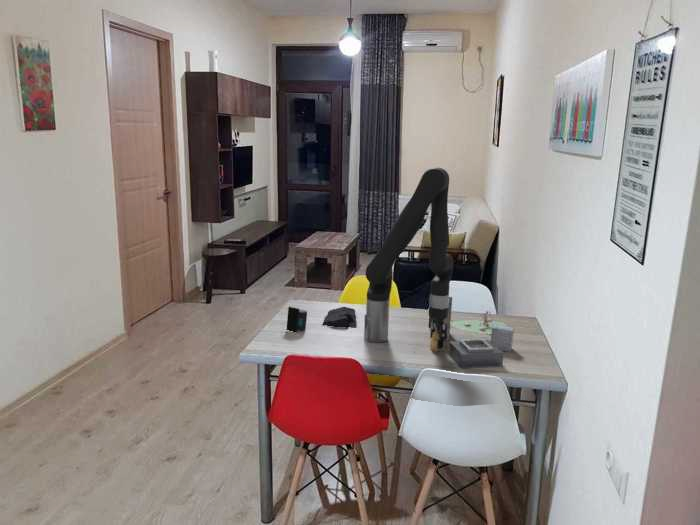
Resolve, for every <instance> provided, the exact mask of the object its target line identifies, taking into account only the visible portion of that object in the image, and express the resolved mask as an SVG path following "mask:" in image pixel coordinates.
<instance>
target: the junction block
mask: <svg viewBox="0 0 700 525" xmlns="http://www.w3.org/2000/svg"><path fill="white" fill-rule="evenodd" d="M448 342H449V344H448V355H449V356H450V357H451V358H452V360H453V361H454V362H455V363H456V364H457V365H458V366H459V367H460V368H462V369H463V368H464V369H466V368H481V367H482V368H483V367H499V366H500V365H502V366H503V363H504V354H505V353H504V351H503V350H500V349H499V348H498V347H496V346H495V345H494V344H493V343H492V342H491V340H489V339H484V338H475V339H472V338H471V339H459V340H457V341H456V340H455V341H448Z"/></svg>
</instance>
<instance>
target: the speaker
mask: <svg viewBox="0 0 700 525" xmlns="http://www.w3.org/2000/svg"><path fill="white" fill-rule="evenodd" d="M307 317H308V310H305V309H304V310H303V309H300V308H298V307H292V306H288V307H287V319H286V330H289V331H293V332H292V333H294V332H297V333H298V332H305V331H306V328H307V319H308V318H307ZM289 331H288V332H289Z"/></svg>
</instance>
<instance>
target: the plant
mask: <svg viewBox="0 0 700 525" xmlns="http://www.w3.org/2000/svg"><path fill="white" fill-rule="evenodd" d="M492 312H493V311H492V310H491V311H486V312H484V313H483V314H482V315H481V316H480V317H481V318H482V320H484V321H478V320H479V319H468V320H467V319H465V320H453V321H454V322H452V320H451V323H450V324H452V325H451V326H452V327H453V328H455V329H459V330H463V331H467V332H471V331H472V332H471V333H475V332H477V333H476V334H479V333H488V334H491V333H492V327H493V326H494V325H498V326H504V327H508V326H507V324H505V322H500V321H497V320H495V321H494V320H492V319H491V318H490V316H491V314H492ZM488 315H489V316H488Z"/></svg>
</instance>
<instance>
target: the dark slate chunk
mask: <svg viewBox="0 0 700 525" xmlns="http://www.w3.org/2000/svg"><path fill="white" fill-rule="evenodd" d="M327 313H328V315H327V314H326V315H327V316H326V315H325V316H324V319H323V321H324V322H323V321H322V323H323V324H321V325H322V326H324V325H327V326H334V327H333V328H337V327H348V328H349V327H351V328H356V327H357V325H358V323H357V322H358V321H357V315H356V309H355V308H352V307H347V306H340V307H337V308H333V309H330V310H329V311H328V312H327Z"/></svg>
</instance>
